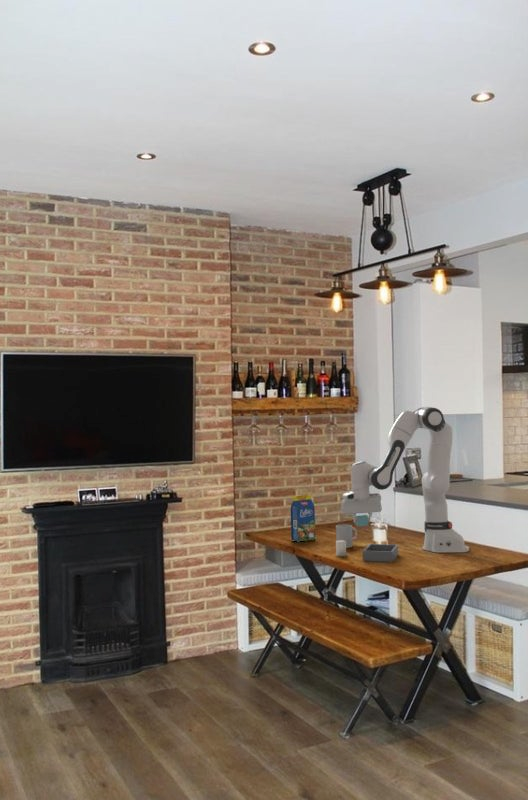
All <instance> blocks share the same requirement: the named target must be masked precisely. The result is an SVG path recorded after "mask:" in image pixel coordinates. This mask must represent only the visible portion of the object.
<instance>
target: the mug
mask: <svg viewBox="0 0 528 800" xmlns="http://www.w3.org/2000/svg"><path fill="white" fill-rule="evenodd" d="M353 531H354V537H353ZM335 537H336V539H335V542H336V541H339V540H344V541H346V549H349V548H348V547H351V548H353V547H352V546H354V544H353V543H354V542H353V541H357V538H358V530H357V528H356V527H353V525H352V524H347V523H346V524H345V523H344V524H337V525H335Z"/></svg>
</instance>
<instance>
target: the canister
mask: <svg viewBox="0 0 528 800" xmlns="http://www.w3.org/2000/svg"><path fill="white" fill-rule="evenodd" d="M335 556H336V557H339V556H344V557H346V556H347V548H346V541H344V540H339V541H336V540H335Z"/></svg>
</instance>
